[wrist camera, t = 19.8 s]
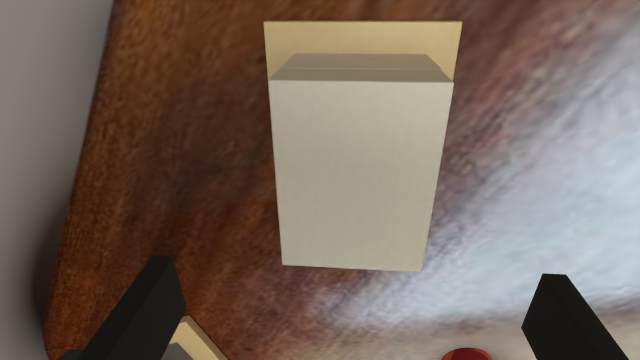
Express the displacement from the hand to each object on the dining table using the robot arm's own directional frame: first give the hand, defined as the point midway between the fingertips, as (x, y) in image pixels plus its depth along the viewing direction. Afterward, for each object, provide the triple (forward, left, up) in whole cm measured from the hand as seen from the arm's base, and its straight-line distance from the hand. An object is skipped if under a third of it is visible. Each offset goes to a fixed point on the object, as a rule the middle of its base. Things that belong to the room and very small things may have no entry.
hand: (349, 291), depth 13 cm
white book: (0, 0, -11) cm, 11 cm away
